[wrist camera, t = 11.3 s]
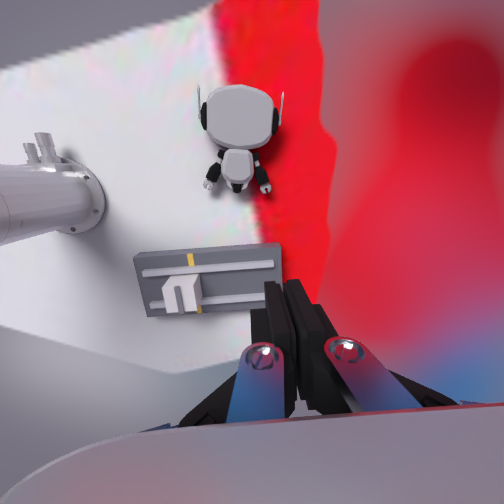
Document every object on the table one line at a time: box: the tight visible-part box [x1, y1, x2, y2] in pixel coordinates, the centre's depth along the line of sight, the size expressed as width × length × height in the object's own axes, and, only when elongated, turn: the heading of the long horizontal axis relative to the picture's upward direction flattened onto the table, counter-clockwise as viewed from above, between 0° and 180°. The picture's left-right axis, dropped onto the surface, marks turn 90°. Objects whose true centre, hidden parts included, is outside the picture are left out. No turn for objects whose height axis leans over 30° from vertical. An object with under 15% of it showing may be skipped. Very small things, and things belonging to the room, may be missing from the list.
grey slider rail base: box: [133, 242, 282, 317], centre depth 44 cm, size 12×26×4 cm, turn 94°
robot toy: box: [197, 84, 284, 194], centre depth 37 cm, size 12×4×15 cm
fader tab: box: [162, 273, 203, 314], centre depth 40 cm, size 5×5×6 cm
